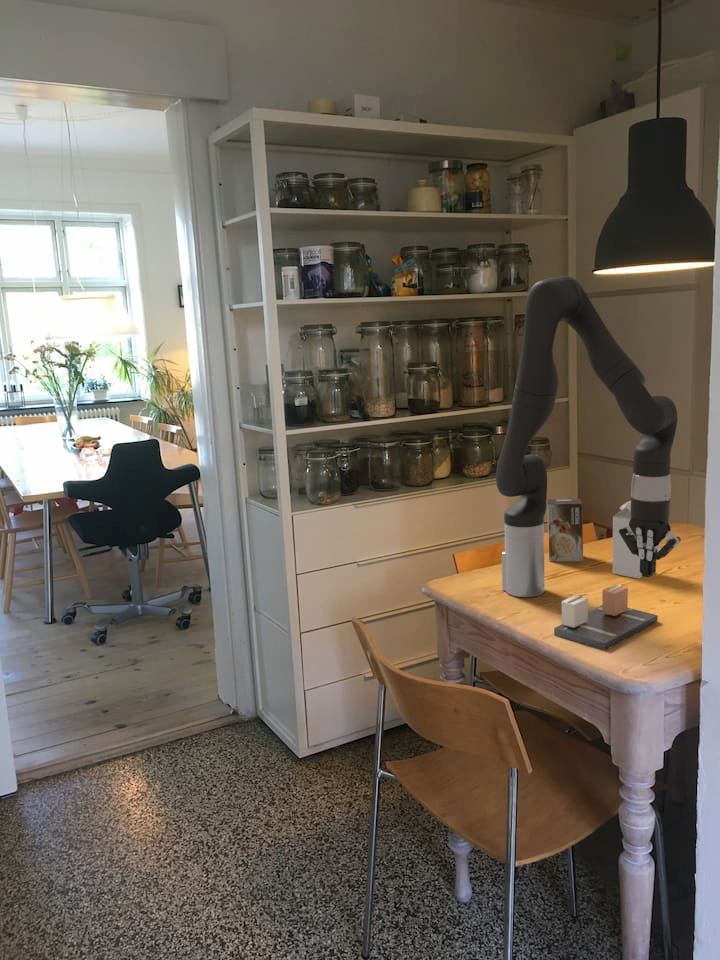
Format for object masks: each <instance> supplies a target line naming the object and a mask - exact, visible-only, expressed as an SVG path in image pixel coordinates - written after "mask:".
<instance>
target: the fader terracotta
mask: <svg viewBox="0 0 720 960" xmlns="http://www.w3.org/2000/svg"><path fill="white" fill-rule="evenodd" d="M628 589H629V587H628V586H627V587H626V586H623V585H621V584H614V585H612V586H610V587H607V588H605V589H603V590H602V591H601V593H602V604H601V605H602V613H606V614H609V615H613V616H616V615H618V614H620V613H622V612H624V611H626V610H628V608H629V607H628V605H629V604H628V603H629V602H628V598H629V597H628V594H629V590H628Z"/></svg>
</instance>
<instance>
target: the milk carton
mask: <svg viewBox="0 0 720 960" xmlns="http://www.w3.org/2000/svg"><path fill="white" fill-rule="evenodd" d="M619 509H620V511H619V512H617V513H616V514H615V515H613V516H612V574H613V575H614V574H615V575H619V576H624V577H629V578H635V579H641V578H643V577H644V576H642V573H640V558H639V556H637V555H636V554H635V555H634V554H632V553H631V551H630V550H629V548H628V546H627V545H626V543H625V542H624V540H623V538H622V537H621V535H620V533H619V530H620V529H622V528H624V527H627V526H628V525H629V521H630V520H631V515H630V512H631V500H630V501H626V502H625V503H624V504H622V505H621V506H620V507H619ZM634 536H635V535H634ZM635 538H636V537H635Z"/></svg>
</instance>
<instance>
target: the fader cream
mask: <svg viewBox="0 0 720 960" xmlns="http://www.w3.org/2000/svg"><path fill="white" fill-rule="evenodd" d="M588 612H589V598H588V597H583V596H582V595H573V596H571V597H568V598H566V599H563V600H562V601H561V625H562V624H563V625H566V626H570V627H573V628H574V627H576V626H578V625H580V624H583V623H585V622H587V621H588Z"/></svg>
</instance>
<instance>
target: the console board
mask: <svg viewBox="0 0 720 960" xmlns="http://www.w3.org/2000/svg"><path fill="white" fill-rule="evenodd" d="M658 620H659V619H658V615H657V614H654V613H650V612H647V611H643V610H638V609H636V608H630V607H628V610H626V611H624V612H622V613H620V614H618V615H616V616H613V615H609V614H606V613H602V604H601V605H599V606H597V607H595V608H593V609H591V610H588V621H587V622H585V623H583V624H580V625H578V626H576V627H574V628H573V627H570V626H566V625H563V624H562V623H561V624H560V625H558V626H556V627H554V629H553V630H554V632H553V635H554V636H557V637H560V638H563V639H566V640H570V641H573V642H576V643H579V644H583V645H586V646H589V647H592V648H596V649H598V650H602V651H606V650H608V649H611V648H613V647H614V646H616V645H618V644H620V643H621V642H623V641H626V640H627V639H629V638H630V637H633V636H634V635H636V634H638V633H640V632H641V631H643V630H645V629H647V628H649V627H651V626H653V625H655V624H656V623H658Z"/></svg>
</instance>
